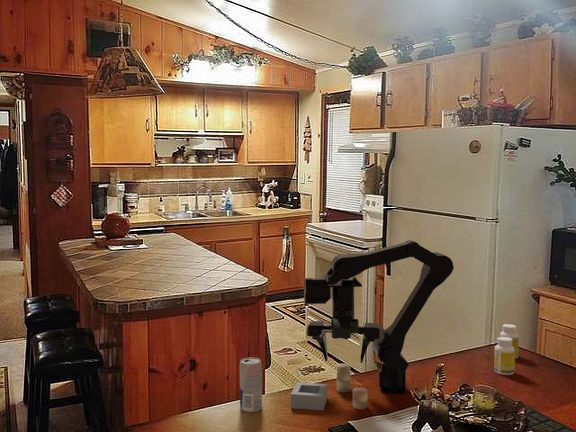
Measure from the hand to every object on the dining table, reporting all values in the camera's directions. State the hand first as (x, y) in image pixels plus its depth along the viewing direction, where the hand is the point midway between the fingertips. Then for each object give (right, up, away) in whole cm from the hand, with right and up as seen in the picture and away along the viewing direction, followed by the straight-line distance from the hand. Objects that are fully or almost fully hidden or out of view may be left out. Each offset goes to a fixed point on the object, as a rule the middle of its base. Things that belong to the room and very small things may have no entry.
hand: (343, 361), depth 149 cm
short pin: (+3, -8, -10) cm, 13 cm away
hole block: (-9, -8, -8) cm, 15 cm away
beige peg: (0, -8, +1) cm, 8 cm away
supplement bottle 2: (+47, -7, +13) cm, 49 cm away
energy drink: (-24, -9, -11) cm, 28 cm away
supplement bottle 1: (+54, -5, +27) cm, 60 cm away
